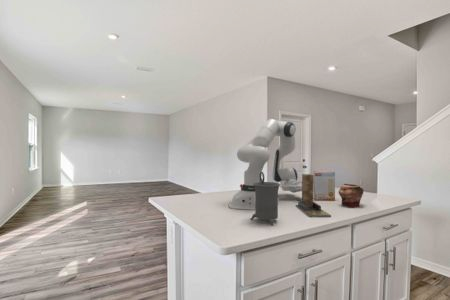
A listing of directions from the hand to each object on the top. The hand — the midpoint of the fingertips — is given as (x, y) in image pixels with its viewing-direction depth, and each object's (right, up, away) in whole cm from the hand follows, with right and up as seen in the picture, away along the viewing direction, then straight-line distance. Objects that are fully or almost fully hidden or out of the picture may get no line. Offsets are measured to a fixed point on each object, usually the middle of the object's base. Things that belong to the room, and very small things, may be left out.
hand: (299, 189), depth 171 cm
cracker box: (+21, -9, +9) cm, 25 cm away
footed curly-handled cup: (-30, -10, -42) cm, 53 cm away
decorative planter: (+32, -9, -8) cm, 34 cm away
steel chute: (0, -9, -23) cm, 25 cm away
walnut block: (0, -8, -16) cm, 18 cm away
